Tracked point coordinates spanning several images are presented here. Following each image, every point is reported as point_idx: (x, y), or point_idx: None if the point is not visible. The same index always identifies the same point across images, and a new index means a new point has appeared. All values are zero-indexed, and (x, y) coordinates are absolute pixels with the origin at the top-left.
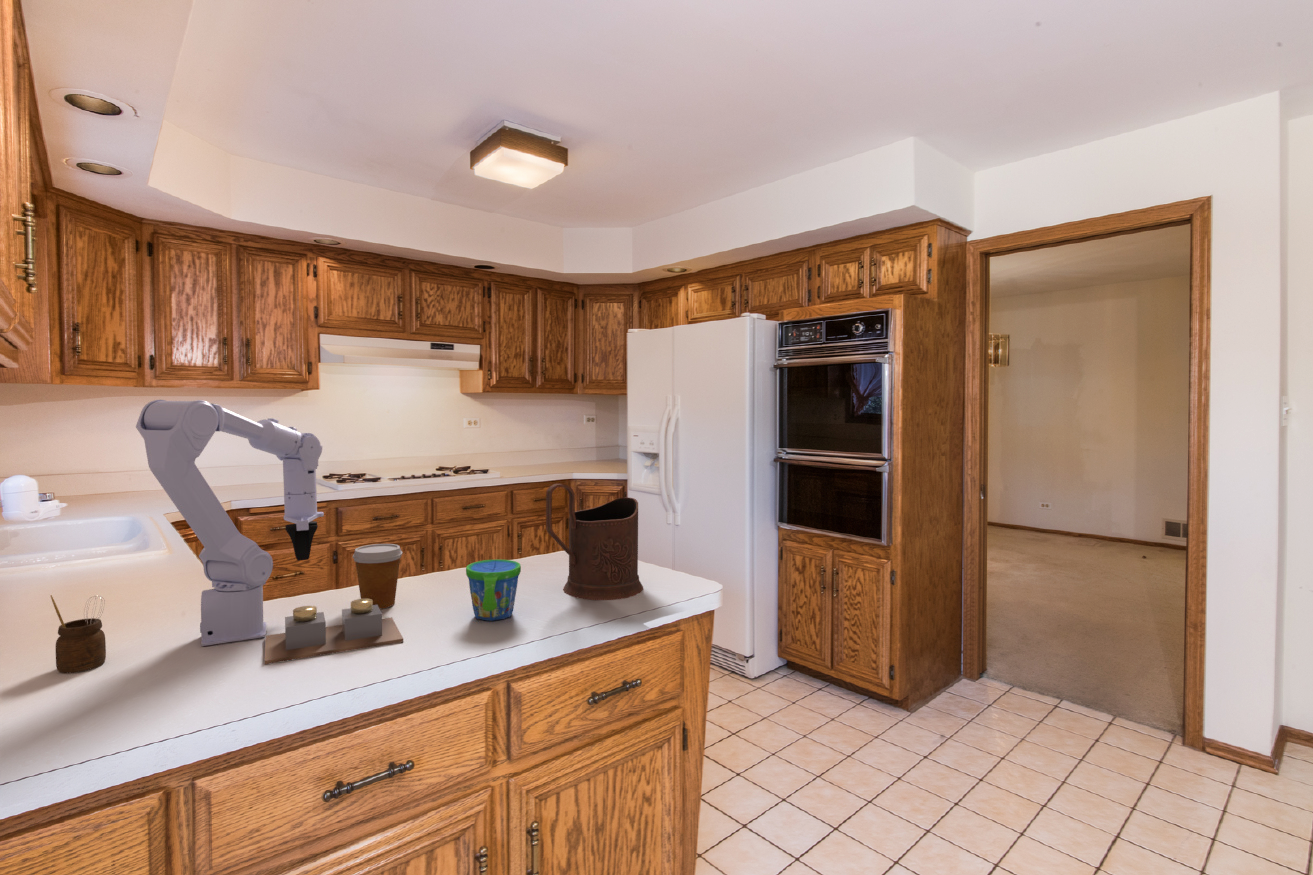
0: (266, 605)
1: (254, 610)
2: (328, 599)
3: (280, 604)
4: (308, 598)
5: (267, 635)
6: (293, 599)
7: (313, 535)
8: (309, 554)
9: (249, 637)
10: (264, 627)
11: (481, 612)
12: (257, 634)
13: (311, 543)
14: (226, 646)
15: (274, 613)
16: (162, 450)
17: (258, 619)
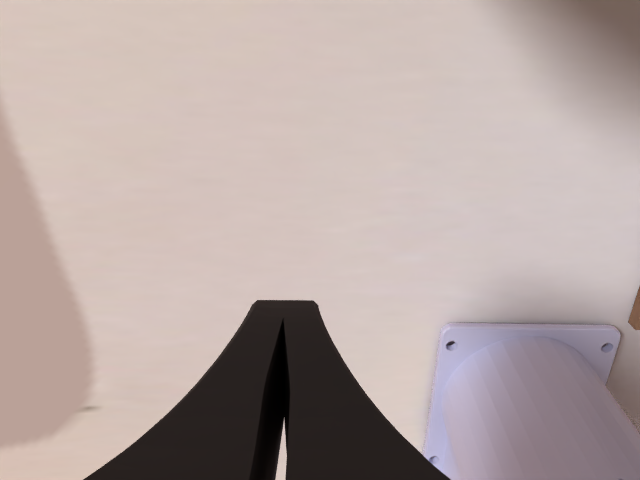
0: (136, 317)
1: (637, 430)
2: (134, 48)
3: (142, 268)
4: (74, 147)
5: (638, 324)
6: (69, 214)
7: (422, 456)
8: (318, 319)
9: (609, 372)
10: (524, 332)
11: None
12: (598, 352)
13: (355, 384)
14: None
15: (285, 291)
16: None
17: (601, 384)
